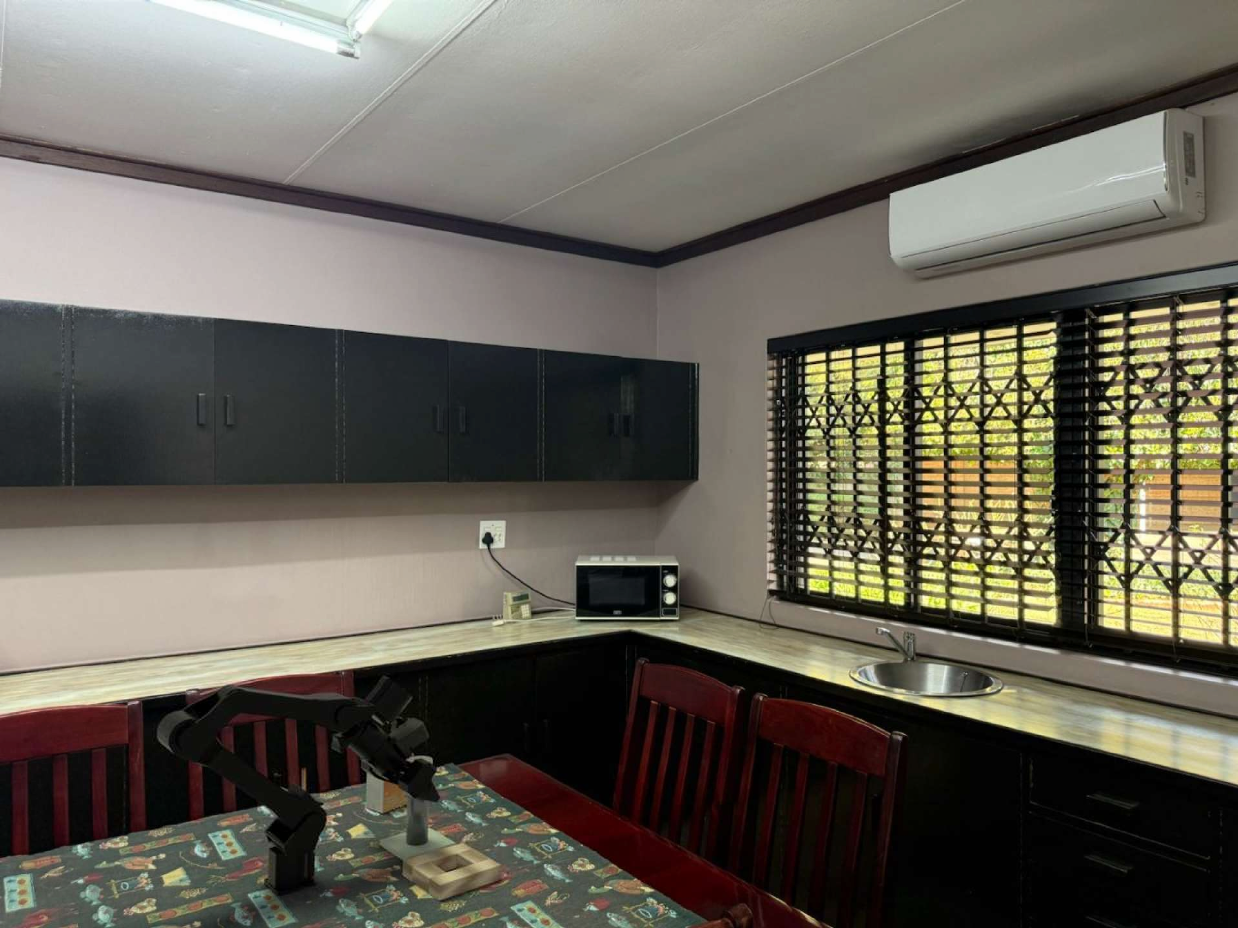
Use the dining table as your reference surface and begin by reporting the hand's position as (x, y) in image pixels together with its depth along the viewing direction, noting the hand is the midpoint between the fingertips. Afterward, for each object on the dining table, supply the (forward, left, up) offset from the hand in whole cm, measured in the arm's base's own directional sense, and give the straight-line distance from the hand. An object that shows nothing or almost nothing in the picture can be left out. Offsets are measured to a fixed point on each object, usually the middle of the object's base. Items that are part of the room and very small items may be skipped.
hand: (425, 793), depth 167 cm
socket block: (-3, -15, -10) cm, 18 cm away
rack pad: (-1, 0, -10) cm, 10 cm away
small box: (+5, +22, -10) cm, 25 cm away
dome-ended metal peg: (-2, 0, -9) cm, 9 cm away
